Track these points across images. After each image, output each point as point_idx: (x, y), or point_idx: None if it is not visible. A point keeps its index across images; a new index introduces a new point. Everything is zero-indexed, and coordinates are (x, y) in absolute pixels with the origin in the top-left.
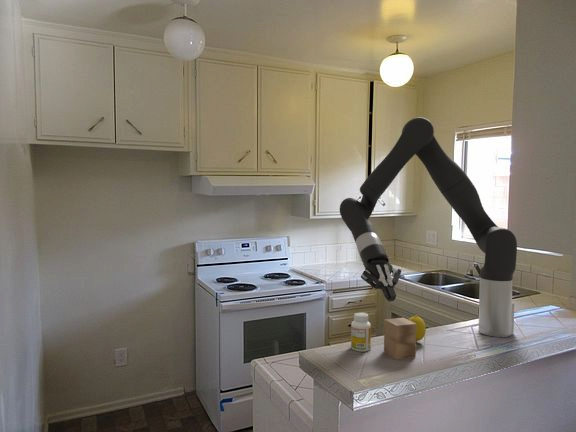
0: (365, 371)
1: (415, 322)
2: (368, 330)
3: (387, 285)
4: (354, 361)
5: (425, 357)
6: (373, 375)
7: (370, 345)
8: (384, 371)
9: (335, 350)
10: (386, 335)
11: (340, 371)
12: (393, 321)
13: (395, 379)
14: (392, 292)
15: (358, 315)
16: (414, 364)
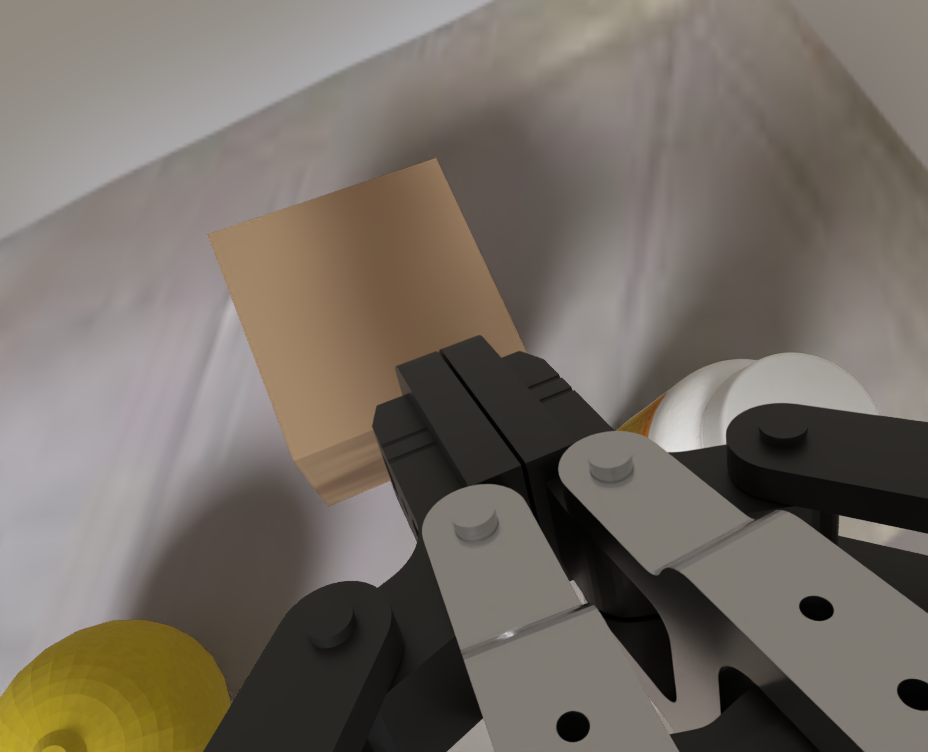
0: (640, 102)
1: (115, 652)
2: (664, 394)
3: (562, 453)
4: (707, 242)
5: (193, 346)
6: (597, 54)
7: None
8: (528, 106)
9: None
10: None
11: (782, 96)
12: (443, 296)
13: (480, 12)
14: (449, 391)
15: (833, 385)
16: None
